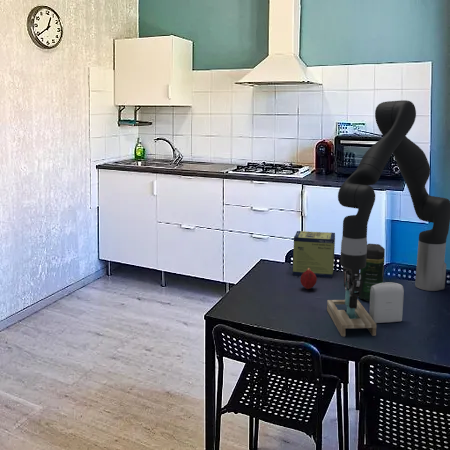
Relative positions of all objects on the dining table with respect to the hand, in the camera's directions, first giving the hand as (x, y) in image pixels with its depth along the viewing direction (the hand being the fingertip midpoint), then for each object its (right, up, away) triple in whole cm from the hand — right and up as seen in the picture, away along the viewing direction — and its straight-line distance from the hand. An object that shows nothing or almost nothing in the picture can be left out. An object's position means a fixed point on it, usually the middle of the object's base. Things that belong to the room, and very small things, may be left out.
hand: (351, 305), depth 167 cm
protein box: (-3, +5, +50) cm, 51 cm away
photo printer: (+11, -6, +4) cm, 13 cm away
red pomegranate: (-8, +1, +32) cm, 33 cm away
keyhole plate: (0, -6, +3) cm, 6 cm away
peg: (0, -6, +1) cm, 6 cm away
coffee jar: (+12, -1, +23) cm, 26 cm away
